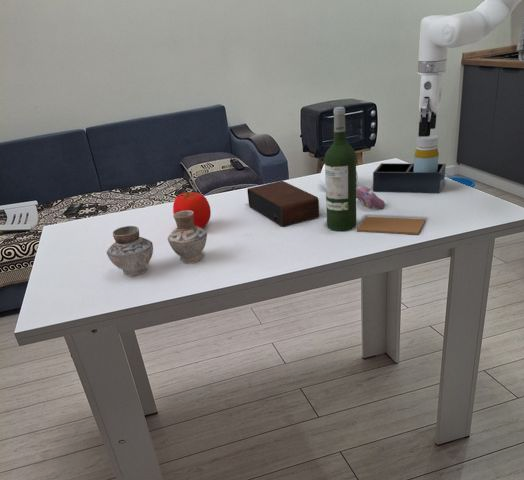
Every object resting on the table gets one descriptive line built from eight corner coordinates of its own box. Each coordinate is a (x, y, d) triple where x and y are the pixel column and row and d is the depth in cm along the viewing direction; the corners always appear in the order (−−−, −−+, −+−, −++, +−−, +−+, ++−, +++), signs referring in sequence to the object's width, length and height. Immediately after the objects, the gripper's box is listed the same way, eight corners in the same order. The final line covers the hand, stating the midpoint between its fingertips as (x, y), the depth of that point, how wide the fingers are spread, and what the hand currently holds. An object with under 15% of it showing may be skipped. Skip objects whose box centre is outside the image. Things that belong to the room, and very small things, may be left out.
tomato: (190, 220, 162) (184, 185, 157) (219, 224, 158) (213, 187, 152) (169, 233, 155) (161, 196, 149) (198, 237, 150) (192, 199, 144)
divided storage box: (444, 183, 169) (445, 163, 166) (439, 193, 161) (440, 173, 158) (380, 181, 177) (381, 163, 173) (372, 191, 169) (373, 172, 166)
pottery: (215, 262, 134) (208, 215, 127) (115, 285, 128) (102, 237, 122) (204, 247, 143) (197, 203, 137) (111, 268, 138) (98, 223, 131)
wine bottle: (323, 230, 145) (318, 111, 129) (332, 220, 151) (329, 105, 134) (351, 232, 142) (349, 110, 125) (360, 222, 147) (359, 104, 131)
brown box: (319, 217, 153) (318, 197, 150) (282, 227, 150) (281, 206, 147) (282, 198, 172) (281, 180, 169) (249, 206, 168) (247, 187, 165)
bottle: (422, 192, 163) (425, 141, 155) (408, 187, 169) (410, 137, 160) (440, 187, 165) (445, 136, 157) (426, 183, 171) (429, 133, 163)
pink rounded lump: (357, 207, 162) (347, 189, 158) (369, 198, 162) (360, 179, 158) (374, 216, 154) (365, 197, 150) (387, 206, 154) (378, 186, 150)
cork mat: (425, 221, 143) (425, 219, 143) (418, 235, 136) (418, 232, 135) (366, 218, 149) (366, 216, 149) (356, 231, 142) (356, 229, 142)
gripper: (441, 71, 141) (435, 139, 150) (450, 62, 154) (444, 125, 163) (412, 72, 144) (408, 139, 153) (423, 63, 157) (419, 126, 166)
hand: (427, 132), depth 158 cm, fingers open, 9 cm apart
